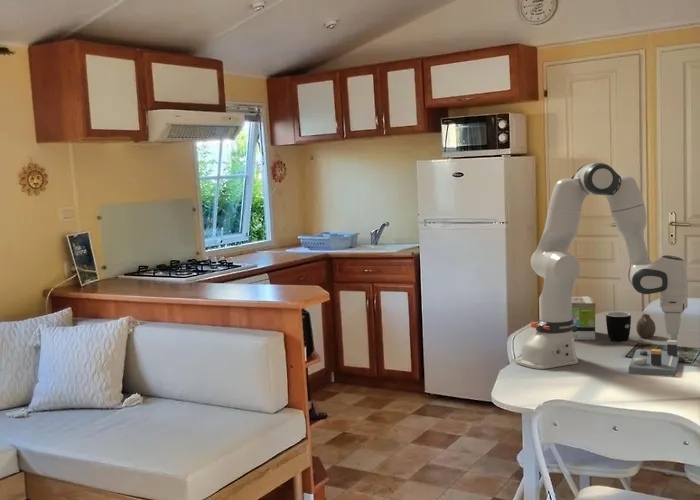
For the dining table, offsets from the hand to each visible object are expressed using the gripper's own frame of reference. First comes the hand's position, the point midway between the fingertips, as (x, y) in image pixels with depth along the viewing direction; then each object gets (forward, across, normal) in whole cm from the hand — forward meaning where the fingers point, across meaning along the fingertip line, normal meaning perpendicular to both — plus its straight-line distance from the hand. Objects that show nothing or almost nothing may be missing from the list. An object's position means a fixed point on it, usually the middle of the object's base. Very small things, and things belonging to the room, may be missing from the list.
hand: (674, 341), depth 264 cm
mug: (+5, -21, -20) cm, 30 cm away
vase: (+6, -27, -12) cm, 30 cm away
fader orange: (+3, +20, -4) cm, 21 cm away
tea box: (+5, -24, -35) cm, 43 cm away
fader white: (+3, +6, 0) cm, 7 cm away
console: (+5, +13, -5) cm, 15 cm away
